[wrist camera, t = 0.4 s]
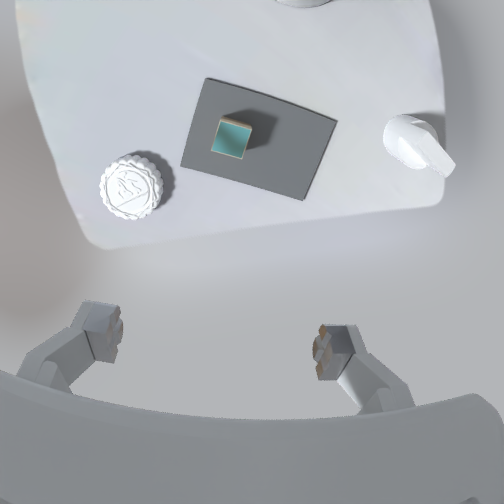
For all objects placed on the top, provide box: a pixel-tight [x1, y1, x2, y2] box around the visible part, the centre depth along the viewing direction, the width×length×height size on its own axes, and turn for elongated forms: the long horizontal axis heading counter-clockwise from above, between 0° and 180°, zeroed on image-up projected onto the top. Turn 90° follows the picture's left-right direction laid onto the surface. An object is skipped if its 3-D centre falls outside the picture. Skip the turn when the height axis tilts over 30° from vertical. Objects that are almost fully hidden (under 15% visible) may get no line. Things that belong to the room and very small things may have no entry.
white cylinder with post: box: [383, 114, 456, 177], centre depth 45 cm, size 9×9×12 cm
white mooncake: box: [100, 155, 164, 220], centre depth 52 cm, size 12×12×4 cm
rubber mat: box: [180, 79, 336, 201], centre depth 50 cm, size 16×23×1 cm
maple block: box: [211, 116, 252, 159], centre depth 46 cm, size 5×5×5 cm
